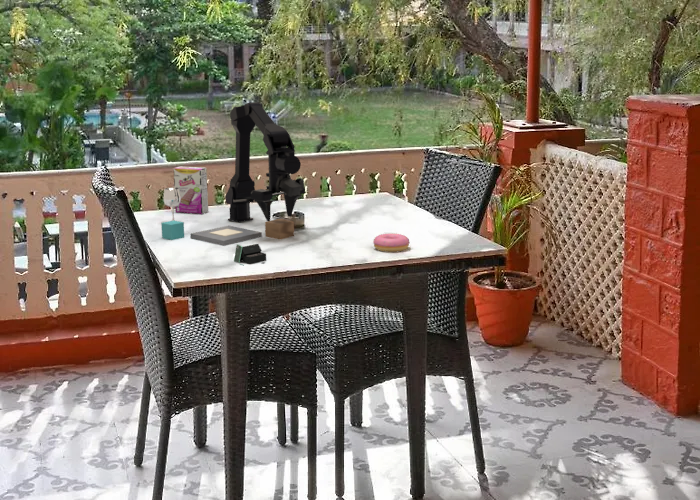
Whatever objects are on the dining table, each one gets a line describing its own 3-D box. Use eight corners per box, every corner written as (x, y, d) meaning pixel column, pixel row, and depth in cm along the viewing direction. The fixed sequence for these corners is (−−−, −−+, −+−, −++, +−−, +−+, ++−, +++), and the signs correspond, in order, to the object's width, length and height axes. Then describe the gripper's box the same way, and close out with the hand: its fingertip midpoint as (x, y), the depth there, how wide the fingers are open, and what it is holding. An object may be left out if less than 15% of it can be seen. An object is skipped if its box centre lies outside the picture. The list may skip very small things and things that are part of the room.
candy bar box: (174, 213, 344) (172, 167, 340) (181, 210, 348) (179, 166, 344) (202, 214, 340) (200, 169, 336) (209, 212, 345) (207, 167, 341)
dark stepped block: (257, 253, 284) (256, 235, 283) (289, 262, 274) (288, 243, 272) (215, 262, 274) (215, 243, 273) (247, 271, 264) (246, 252, 262)
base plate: (229, 229, 315) (228, 224, 314) (261, 236, 304) (261, 231, 304) (190, 238, 303) (190, 232, 303) (223, 245, 293) (223, 240, 292)
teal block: (174, 235, 308) (173, 220, 307) (184, 237, 304) (183, 222, 303) (162, 238, 304) (161, 222, 303) (171, 240, 301) (171, 224, 300)
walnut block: (280, 233, 309) (279, 218, 308) (294, 236, 305) (293, 221, 304) (265, 237, 304) (265, 221, 303) (279, 240, 300) (279, 224, 299)
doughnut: (398, 243, 294) (398, 230, 293) (416, 250, 285) (416, 237, 284) (366, 247, 289) (366, 234, 288) (384, 254, 280) (384, 241, 279)
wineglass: (174, 225, 322) (172, 190, 319) (161, 223, 325) (159, 189, 322) (185, 222, 327) (183, 188, 324) (173, 220, 330) (171, 186, 327)
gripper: (273, 176, 288) (275, 226, 291) (316, 169, 301) (317, 217, 305) (249, 172, 295) (250, 222, 298) (292, 165, 308) (293, 213, 312)
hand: (279, 218), depth 303 cm, fingers open, 9 cm apart
